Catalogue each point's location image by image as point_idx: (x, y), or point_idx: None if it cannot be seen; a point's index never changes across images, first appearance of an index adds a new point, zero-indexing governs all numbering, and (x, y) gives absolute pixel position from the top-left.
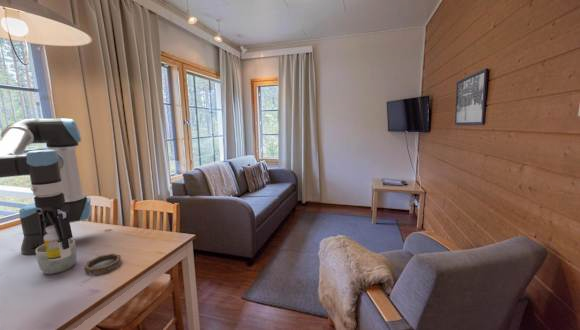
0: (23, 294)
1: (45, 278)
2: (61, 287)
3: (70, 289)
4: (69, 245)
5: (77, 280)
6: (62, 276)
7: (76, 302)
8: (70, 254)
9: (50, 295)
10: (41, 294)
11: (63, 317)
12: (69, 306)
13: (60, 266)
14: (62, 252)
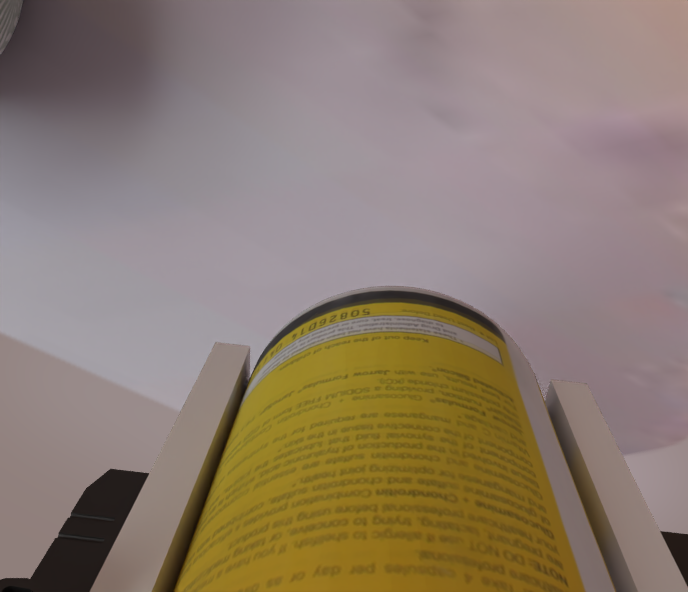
0: (116, 305)
1: (4, 118)
2: (300, 181)
3: (407, 184)
4: (548, 434)
5: (331, 66)
6: (113, 52)
7: (618, 289)
8: (589, 397)
9: (327, 273)
10: (245, 279)
11: (661, 405)
12: (603, 328)
13: (2, 20)
14: None
